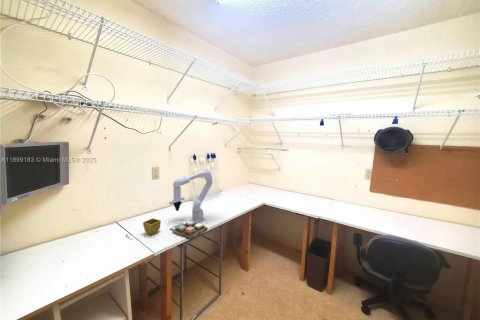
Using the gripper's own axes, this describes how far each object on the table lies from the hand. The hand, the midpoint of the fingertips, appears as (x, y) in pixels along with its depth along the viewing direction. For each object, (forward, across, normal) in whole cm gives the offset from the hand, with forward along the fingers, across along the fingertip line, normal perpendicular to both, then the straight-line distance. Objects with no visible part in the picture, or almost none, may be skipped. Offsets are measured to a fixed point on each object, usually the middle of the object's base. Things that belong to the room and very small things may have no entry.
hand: (177, 210), depth 163 cm
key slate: (+7, +12, +18) cm, 22 cm away
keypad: (+9, +8, +22) cm, 25 cm away
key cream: (+7, +3, +25) cm, 27 cm away
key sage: (+7, +3, +17) cm, 19 cm away
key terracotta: (+6, +12, +26) cm, 29 cm away
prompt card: (+9, +8, +8) cm, 14 cm away
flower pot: (+10, +24, 0) cm, 26 cm away
